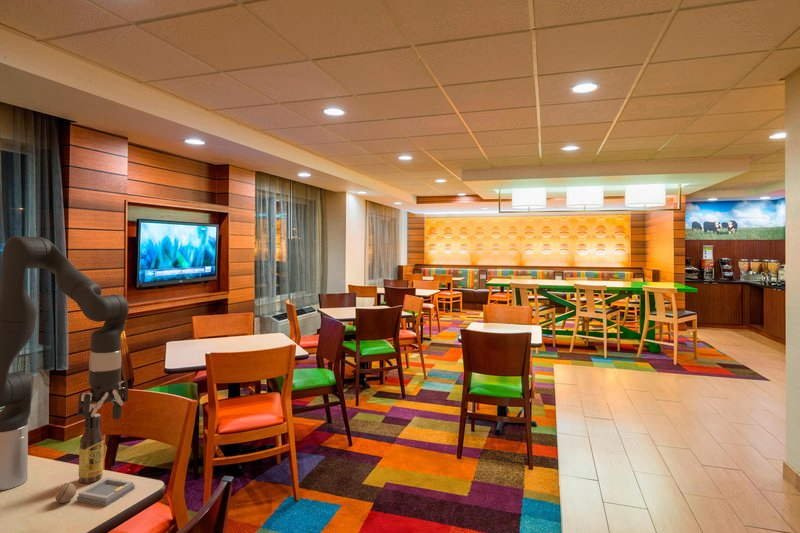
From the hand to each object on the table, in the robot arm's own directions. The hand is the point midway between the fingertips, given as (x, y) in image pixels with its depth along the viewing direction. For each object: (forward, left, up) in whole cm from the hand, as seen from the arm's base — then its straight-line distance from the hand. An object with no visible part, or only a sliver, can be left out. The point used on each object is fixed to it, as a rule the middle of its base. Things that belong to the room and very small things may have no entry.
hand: (103, 423), depth 129 cm
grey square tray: (-3, +4, -23) cm, 23 cm away
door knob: (-11, -2, -23) cm, 25 cm away
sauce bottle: (-15, +10, -23) cm, 29 cm away
